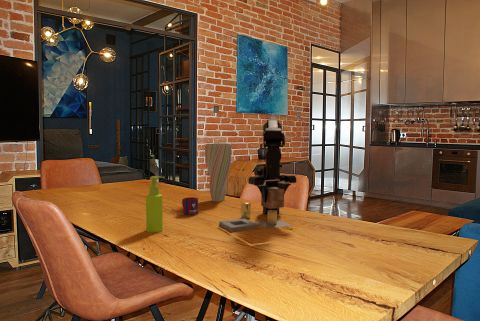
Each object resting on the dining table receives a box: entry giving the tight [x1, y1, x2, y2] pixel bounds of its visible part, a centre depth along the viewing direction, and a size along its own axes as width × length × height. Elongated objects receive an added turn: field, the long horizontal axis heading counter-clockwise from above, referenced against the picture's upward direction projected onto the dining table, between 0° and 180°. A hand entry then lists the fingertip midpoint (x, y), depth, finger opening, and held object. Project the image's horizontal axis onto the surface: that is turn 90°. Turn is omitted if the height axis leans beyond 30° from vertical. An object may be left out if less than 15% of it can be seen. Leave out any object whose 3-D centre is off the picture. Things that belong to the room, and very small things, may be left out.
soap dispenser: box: [145, 175, 164, 234], centre depth 142 cm, size 6×7×20 cm
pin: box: [240, 201, 251, 220], centre depth 160 cm, size 4×4×7 cm
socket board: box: [218, 218, 259, 234], centre depth 146 cm, size 11×11×2 cm
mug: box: [181, 196, 199, 216], centre depth 172 cm, size 7×10×7 cm
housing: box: [260, 187, 285, 209], centre depth 150 cm, size 6×6×7 cm
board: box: [253, 210, 292, 229], centre depth 151 cm, size 11×11×6 cm
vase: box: [204, 142, 232, 203], centre depth 203 cm, size 14×14×30 cm
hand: (272, 201), depth 150 cm, fingers closed on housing, 6 cm apart
